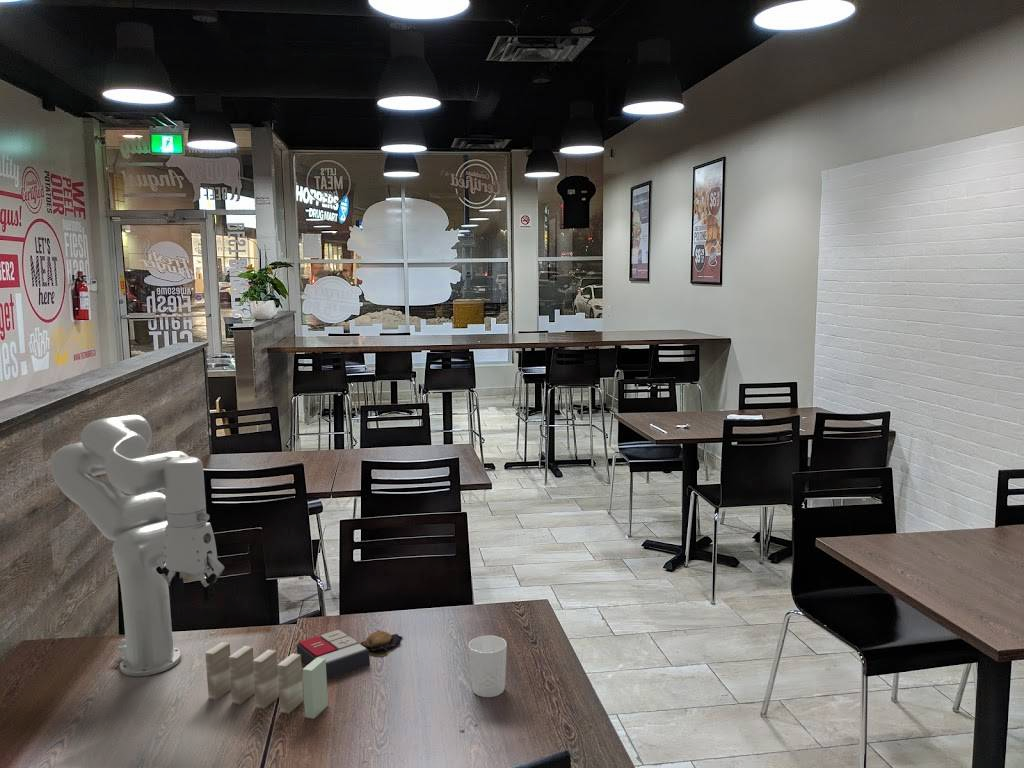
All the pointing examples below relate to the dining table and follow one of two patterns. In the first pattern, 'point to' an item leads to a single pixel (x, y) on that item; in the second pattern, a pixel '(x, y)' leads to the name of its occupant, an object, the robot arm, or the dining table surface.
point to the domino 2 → (242, 674)
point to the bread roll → (381, 643)
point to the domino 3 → (266, 679)
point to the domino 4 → (290, 683)
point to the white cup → (488, 665)
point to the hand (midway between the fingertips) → (192, 599)
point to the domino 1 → (218, 670)
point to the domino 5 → (315, 687)
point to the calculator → (334, 652)
